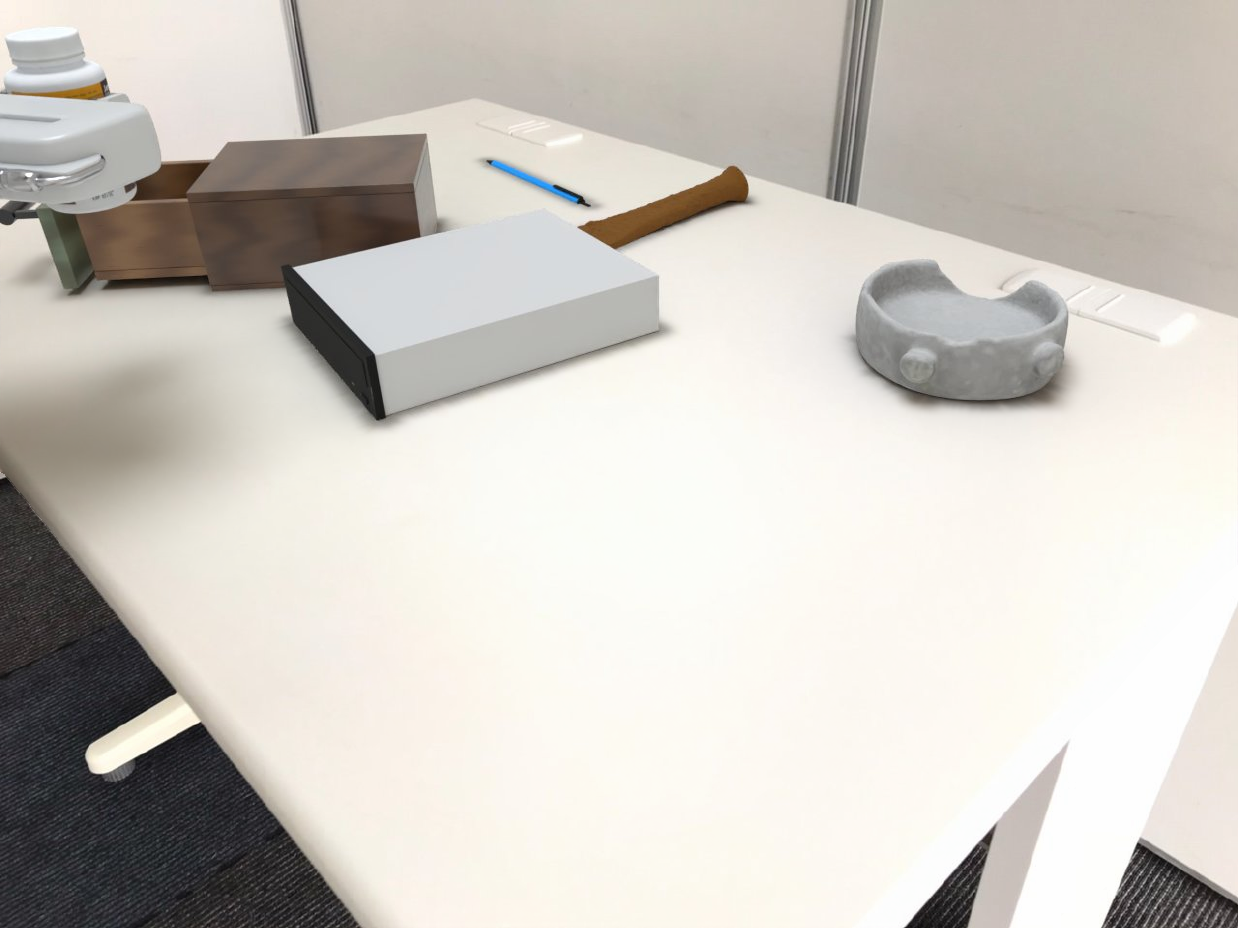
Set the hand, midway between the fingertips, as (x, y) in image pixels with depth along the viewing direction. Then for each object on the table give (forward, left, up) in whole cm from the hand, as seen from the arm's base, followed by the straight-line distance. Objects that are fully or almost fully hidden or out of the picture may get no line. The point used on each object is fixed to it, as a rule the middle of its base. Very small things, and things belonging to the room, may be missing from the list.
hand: (73, 102), depth 63 cm
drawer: (-5, +19, -18) cm, 27 cm away
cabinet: (+10, +19, -19) cm, 28 cm away
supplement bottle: (0, -1, -6) cm, 6 cm away
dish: (+57, -6, -19) cm, 60 cm away
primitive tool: (+40, +23, -19) cm, 50 cm away
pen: (+28, +36, -19) cm, 49 cm away
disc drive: (+23, +3, -19) cm, 30 cm away
